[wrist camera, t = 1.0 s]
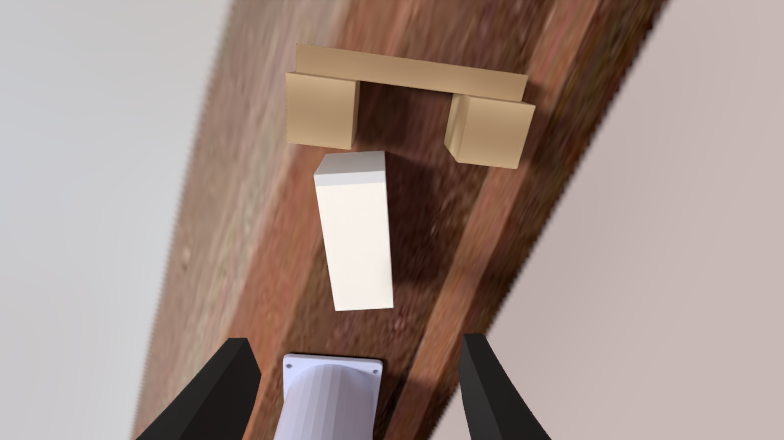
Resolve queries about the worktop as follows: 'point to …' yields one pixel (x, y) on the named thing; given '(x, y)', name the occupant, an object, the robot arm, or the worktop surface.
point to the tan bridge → (348, 68)
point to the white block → (356, 228)
